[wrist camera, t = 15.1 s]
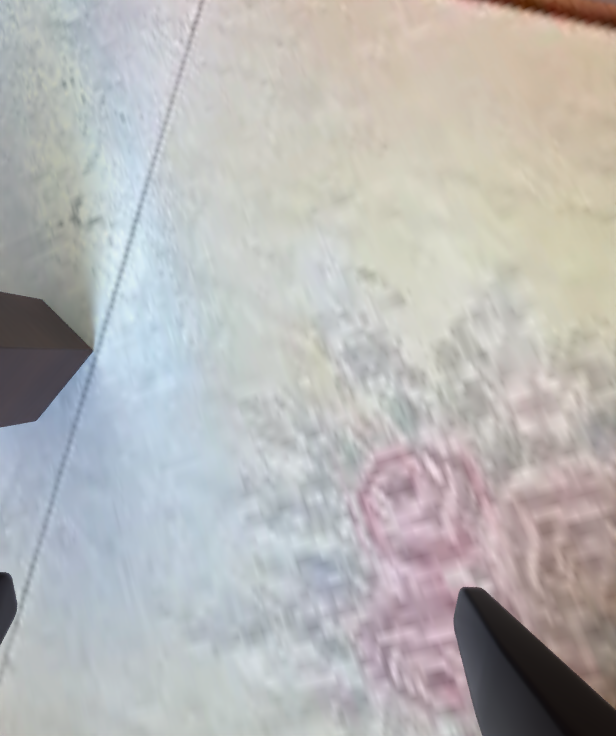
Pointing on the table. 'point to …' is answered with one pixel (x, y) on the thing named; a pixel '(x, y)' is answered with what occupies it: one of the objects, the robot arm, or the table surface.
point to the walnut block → (34, 357)
